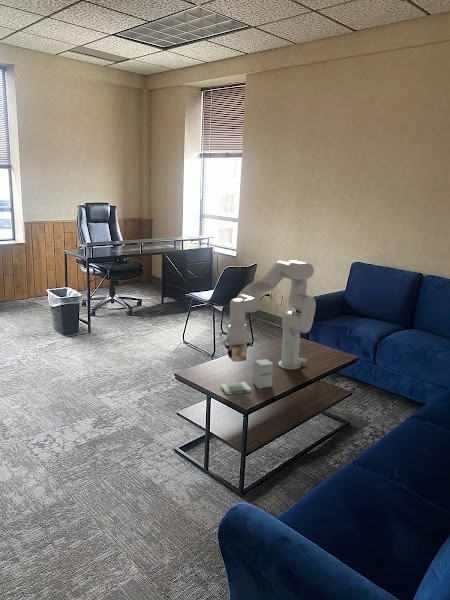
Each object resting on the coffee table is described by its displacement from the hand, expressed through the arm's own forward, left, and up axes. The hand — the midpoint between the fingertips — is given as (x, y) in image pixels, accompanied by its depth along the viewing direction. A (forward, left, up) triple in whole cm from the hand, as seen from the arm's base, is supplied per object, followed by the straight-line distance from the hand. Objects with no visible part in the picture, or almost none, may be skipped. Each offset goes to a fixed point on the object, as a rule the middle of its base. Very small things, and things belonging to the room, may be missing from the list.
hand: (237, 355), depth 240 cm
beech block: (0, 0, -1) cm, 1 cm away
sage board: (+4, +10, -14) cm, 18 cm away
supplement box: (-11, +8, -14) cm, 20 cm away
